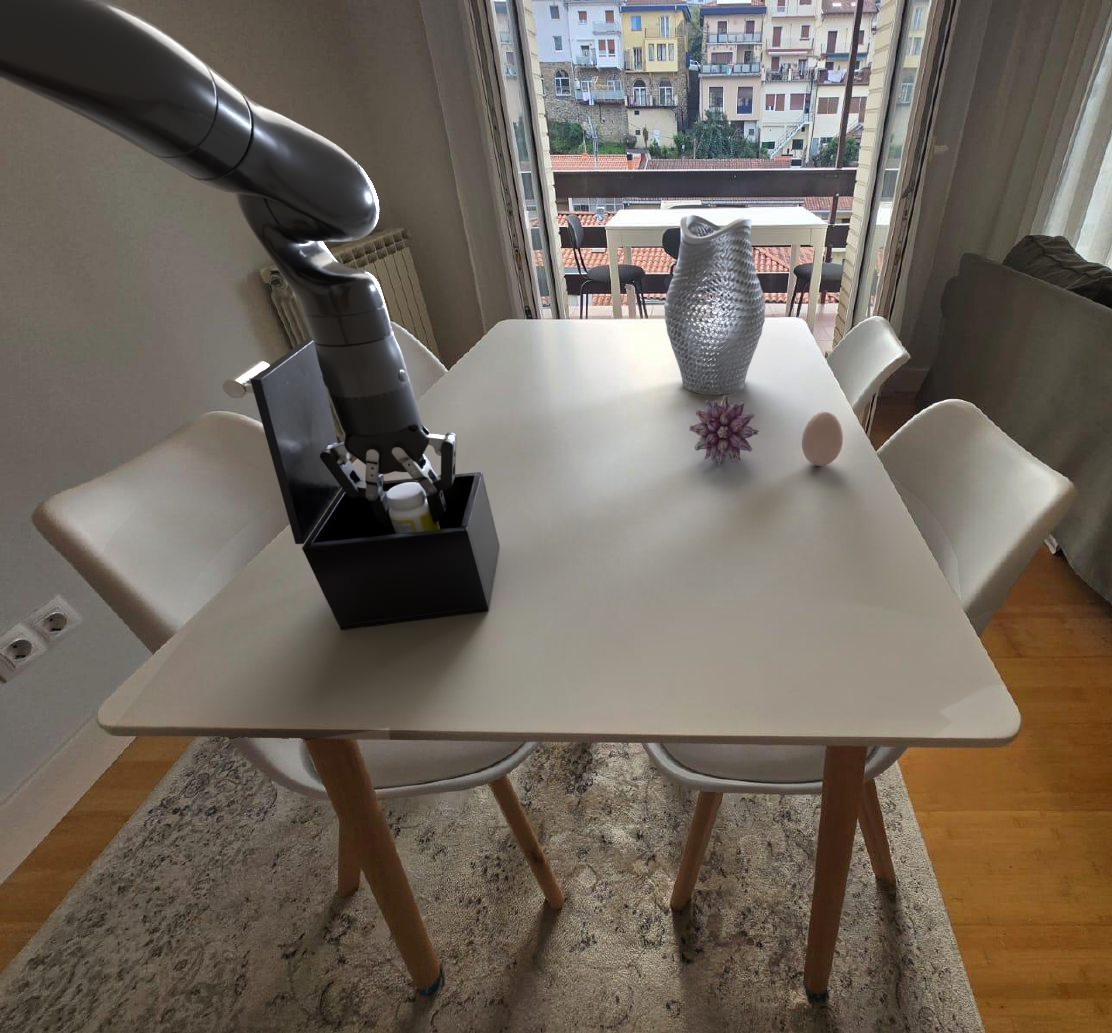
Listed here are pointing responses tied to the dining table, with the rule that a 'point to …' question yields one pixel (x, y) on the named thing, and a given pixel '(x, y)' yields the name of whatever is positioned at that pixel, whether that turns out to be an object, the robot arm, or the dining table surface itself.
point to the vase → (747, 303)
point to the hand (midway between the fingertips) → (414, 520)
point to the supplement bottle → (410, 509)
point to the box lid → (294, 430)
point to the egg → (822, 439)
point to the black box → (406, 559)
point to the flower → (723, 430)
